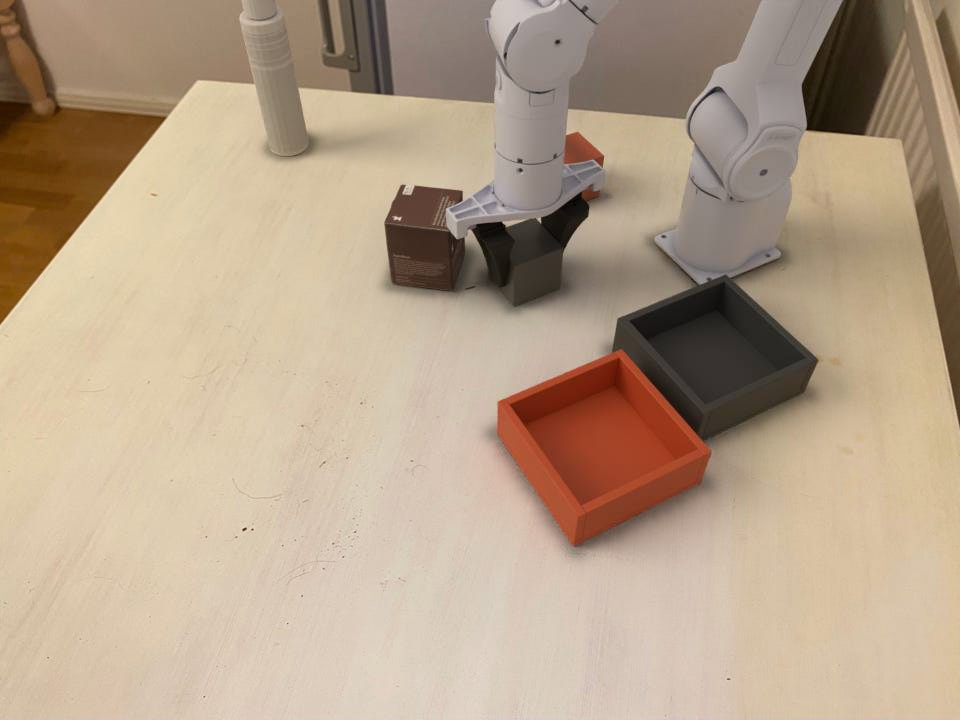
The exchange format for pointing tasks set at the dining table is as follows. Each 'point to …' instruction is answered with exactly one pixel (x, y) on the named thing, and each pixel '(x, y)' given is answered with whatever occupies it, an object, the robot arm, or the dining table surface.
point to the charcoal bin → (715, 355)
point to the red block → (582, 157)
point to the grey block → (532, 263)
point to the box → (423, 238)
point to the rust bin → (600, 445)
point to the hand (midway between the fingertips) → (524, 270)
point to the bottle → (274, 76)
